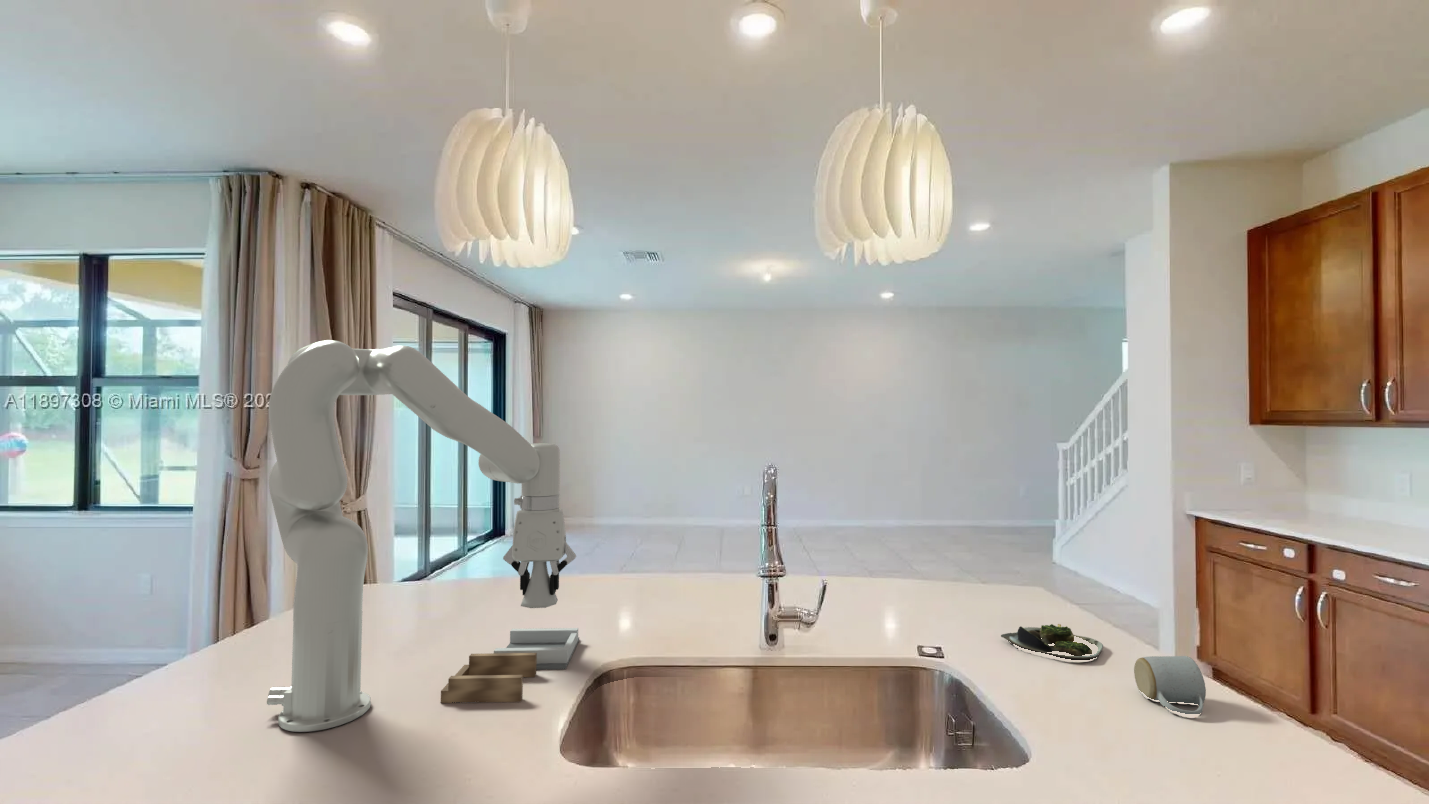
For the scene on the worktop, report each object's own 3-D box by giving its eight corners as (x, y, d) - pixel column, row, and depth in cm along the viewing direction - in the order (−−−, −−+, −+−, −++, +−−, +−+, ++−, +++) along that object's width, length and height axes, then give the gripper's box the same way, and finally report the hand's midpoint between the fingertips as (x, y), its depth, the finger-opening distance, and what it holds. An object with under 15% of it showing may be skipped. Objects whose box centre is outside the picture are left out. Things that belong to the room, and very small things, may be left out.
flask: (547, 610, 123) (548, 559, 123) (514, 608, 124) (514, 558, 124) (563, 600, 130) (564, 552, 130) (531, 598, 131) (532, 550, 132)
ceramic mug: (1131, 690, 111) (1130, 646, 111) (1182, 693, 110) (1181, 649, 110) (1163, 719, 101) (1162, 671, 101) (1219, 723, 99) (1219, 674, 100)
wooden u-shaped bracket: (440, 703, 104) (441, 678, 104) (464, 675, 116) (464, 653, 116) (520, 701, 105) (521, 677, 105) (536, 674, 116) (536, 652, 116)
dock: (491, 670, 118) (491, 653, 118) (513, 640, 134) (513, 626, 134) (565, 669, 119) (565, 652, 119) (579, 640, 135) (579, 625, 135)
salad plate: (1026, 626, 147) (1026, 607, 147) (1114, 646, 134) (1113, 624, 134) (994, 647, 133) (994, 625, 133) (1089, 671, 121) (1088, 647, 121)
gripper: (492, 506, 123) (491, 599, 123) (579, 506, 124) (578, 598, 124) (503, 501, 131) (502, 589, 130) (585, 501, 132) (584, 588, 131)
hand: (539, 592), depth 127 cm, fingers closed on flask, 4 cm apart
